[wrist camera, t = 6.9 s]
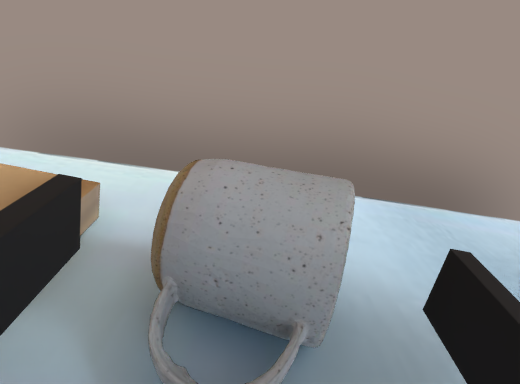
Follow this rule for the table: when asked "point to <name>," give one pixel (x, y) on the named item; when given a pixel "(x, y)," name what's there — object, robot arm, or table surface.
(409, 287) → the table surface
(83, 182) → the board
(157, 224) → the ceramic mug
